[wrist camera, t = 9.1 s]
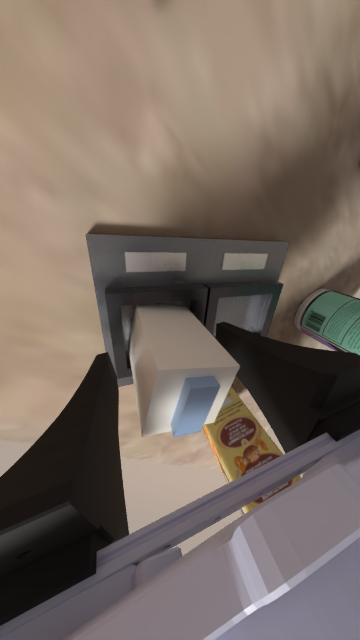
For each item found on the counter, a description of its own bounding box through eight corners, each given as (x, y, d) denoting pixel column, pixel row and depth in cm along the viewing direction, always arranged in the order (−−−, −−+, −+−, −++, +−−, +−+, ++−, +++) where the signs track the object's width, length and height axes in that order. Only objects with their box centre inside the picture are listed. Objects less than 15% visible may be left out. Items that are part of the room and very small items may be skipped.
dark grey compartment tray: (281, 241, 15) (302, 243, 14) (248, 353, 21) (260, 364, 19) (86, 233, 11) (83, 235, 9) (112, 381, 16) (112, 399, 14)
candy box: (181, 378, 19) (326, 693, 6) (216, 362, 20) (411, 617, 7) (197, 420, 24) (299, 646, 11) (225, 405, 24) (351, 604, 12)
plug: (186, 306, 14) (248, 375, 8) (175, 348, 16) (219, 433, 9) (135, 301, 13) (161, 381, 6) (128, 348, 14) (143, 450, 8)
